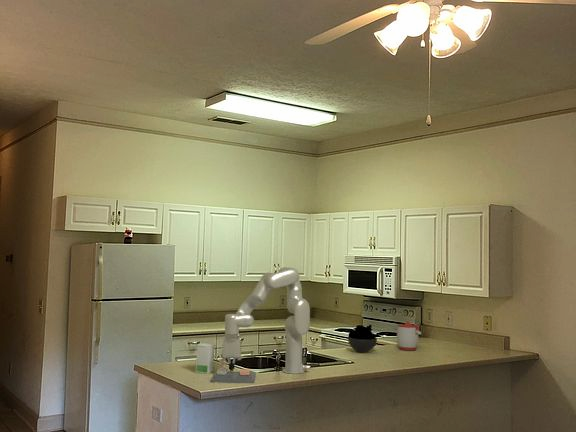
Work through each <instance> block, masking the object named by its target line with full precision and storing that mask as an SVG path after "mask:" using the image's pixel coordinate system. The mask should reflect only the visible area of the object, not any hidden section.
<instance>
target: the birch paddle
mask: <svg viewBox="0 0 576 432" xmlns="http://www.w3.org/2000/svg"><path fill="white" fill-rule="evenodd" d="M218 363H219V369H227V363H228V362H227V361H226V360H222V359H219V362H218Z"/></svg>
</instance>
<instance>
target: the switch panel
mask: <svg viewBox="0 0 576 432" xmlns="http://www.w3.org/2000/svg"><path fill="white" fill-rule="evenodd" d="M256 375H257V372H256V371H250V375H240V371H234V370H233V371H232V370H231V371H230V370H228V372H227V375H217V370H216V371H215V372H214V373H213V376H212V377H211V383H215V382H222V383H225V384H226V383H227V384H228V383H229V384H235V383H236V384H255V381H256ZM222 383H221V384H222Z"/></svg>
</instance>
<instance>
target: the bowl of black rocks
mask: <svg viewBox="0 0 576 432" xmlns="http://www.w3.org/2000/svg"><path fill="white" fill-rule="evenodd" d="M372 327H373V326H372V324H369V325H367V326H364V325H362V324H361V325H360V324H359V325H356V327H355V329H354V330H353V331H350V332H349V333H348V336H347V342H348V343H349V344H348V345H349V346H350V347H351V348H352V349H353V350H354V351H356V352H358V353H367V352H369V351H370V352H371V351H372V350H373V349H374V347H375V346H376V344H377V342H378V338H377V337H376V335H375V334H374V333H373V332H372Z"/></svg>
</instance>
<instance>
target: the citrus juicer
mask: <svg viewBox="0 0 576 432" xmlns="http://www.w3.org/2000/svg"><path fill="white" fill-rule="evenodd" d="M419 335H422V332H421V331H420V326H419V325H417V324H412V323H411V322H409V321H408V320H407V321H406V322H405V323H403V324H402V323H401V324H396V342H397V345H398V349H399V350H401V351H408V352H409V351H410V352H412V351H416V350H417V348H418V344H419Z"/></svg>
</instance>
